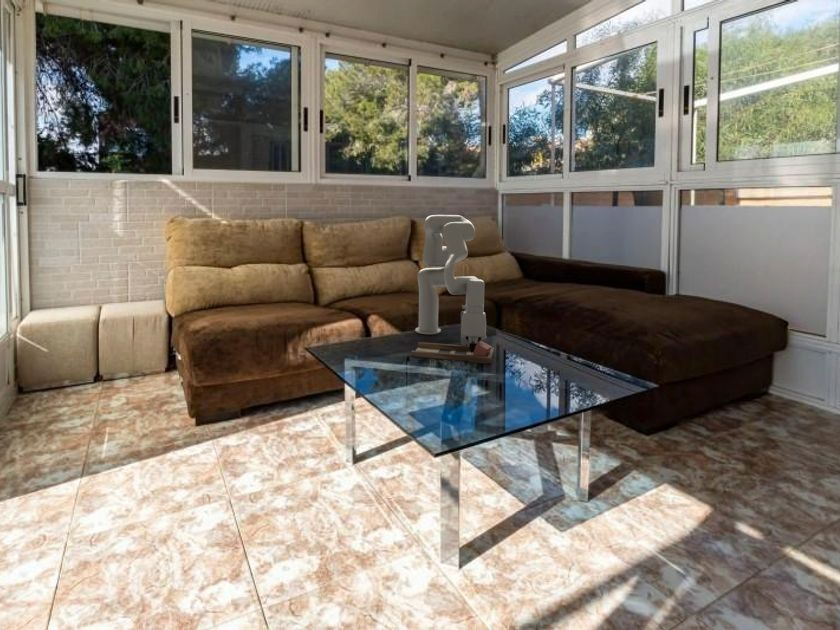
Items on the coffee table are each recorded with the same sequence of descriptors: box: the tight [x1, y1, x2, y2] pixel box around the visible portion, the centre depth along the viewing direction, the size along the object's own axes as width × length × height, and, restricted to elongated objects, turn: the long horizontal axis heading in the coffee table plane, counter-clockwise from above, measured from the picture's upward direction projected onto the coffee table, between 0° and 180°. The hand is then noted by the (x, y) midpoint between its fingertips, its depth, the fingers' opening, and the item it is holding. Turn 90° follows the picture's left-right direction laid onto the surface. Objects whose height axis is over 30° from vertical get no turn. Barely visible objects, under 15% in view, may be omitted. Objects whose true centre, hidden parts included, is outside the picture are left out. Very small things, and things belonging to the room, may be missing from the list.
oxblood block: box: [473, 340, 493, 356], centre depth 231 cm, size 5×5×5 cm
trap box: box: [410, 341, 495, 364], centre depth 236 cm, size 15×33×3 cm, turn 78°
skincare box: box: [460, 309, 481, 346], centre depth 252 cm, size 8×7×16 cm
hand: (473, 351), depth 234 cm, fingers closed
